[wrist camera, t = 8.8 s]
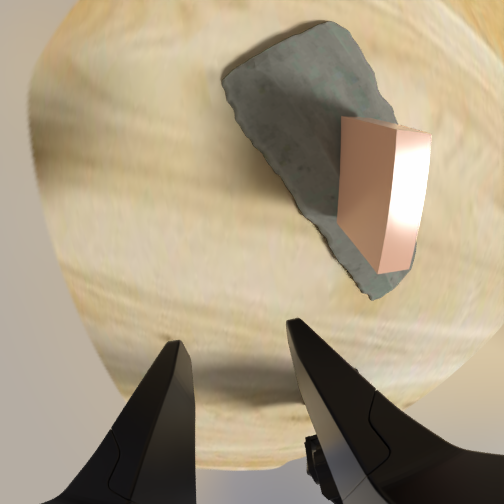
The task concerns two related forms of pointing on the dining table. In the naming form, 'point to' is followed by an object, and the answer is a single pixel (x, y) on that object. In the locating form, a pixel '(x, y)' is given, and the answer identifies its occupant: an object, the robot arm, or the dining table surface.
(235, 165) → the dining table surface
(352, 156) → the block
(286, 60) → the stone slab
